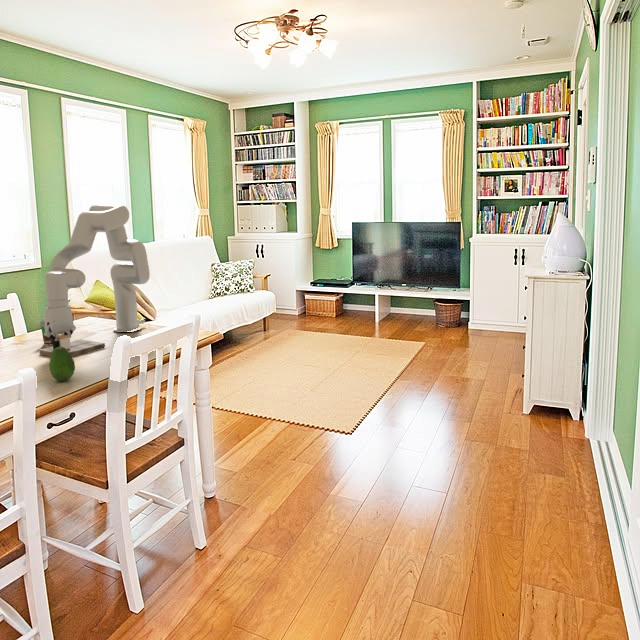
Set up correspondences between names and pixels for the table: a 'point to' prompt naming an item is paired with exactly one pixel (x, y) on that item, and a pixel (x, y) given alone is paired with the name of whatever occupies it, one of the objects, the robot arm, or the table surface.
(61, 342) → the beige small block
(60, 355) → the avocado
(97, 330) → the table surface
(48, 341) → the food container
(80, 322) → the table surface
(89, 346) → the panel
